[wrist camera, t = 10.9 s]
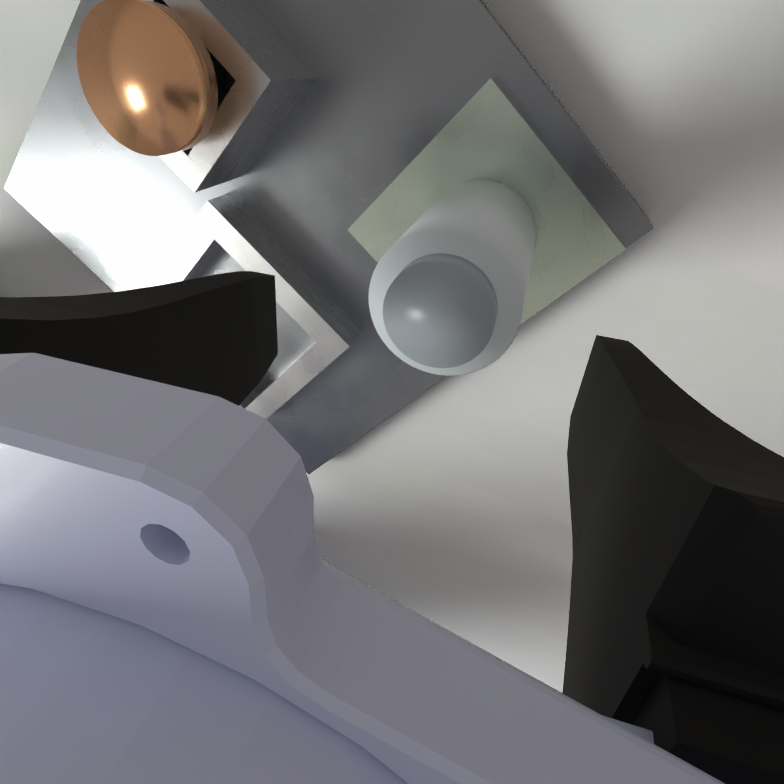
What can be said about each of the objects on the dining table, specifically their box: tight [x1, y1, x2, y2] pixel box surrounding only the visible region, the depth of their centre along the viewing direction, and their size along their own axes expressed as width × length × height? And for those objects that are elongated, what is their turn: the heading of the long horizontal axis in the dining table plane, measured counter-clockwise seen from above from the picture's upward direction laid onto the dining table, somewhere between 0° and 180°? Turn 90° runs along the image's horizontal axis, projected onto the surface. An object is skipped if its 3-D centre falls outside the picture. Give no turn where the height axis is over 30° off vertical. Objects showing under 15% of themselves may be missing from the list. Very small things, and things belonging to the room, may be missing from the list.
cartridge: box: [368, 180, 536, 376], centre depth 16 cm, size 4×4×7 cm
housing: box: [4, 0, 653, 474], centre depth 20 cm, size 19×19×4 cm
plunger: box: [76, 0, 236, 156], centre depth 17 cm, size 4×4×4 cm
